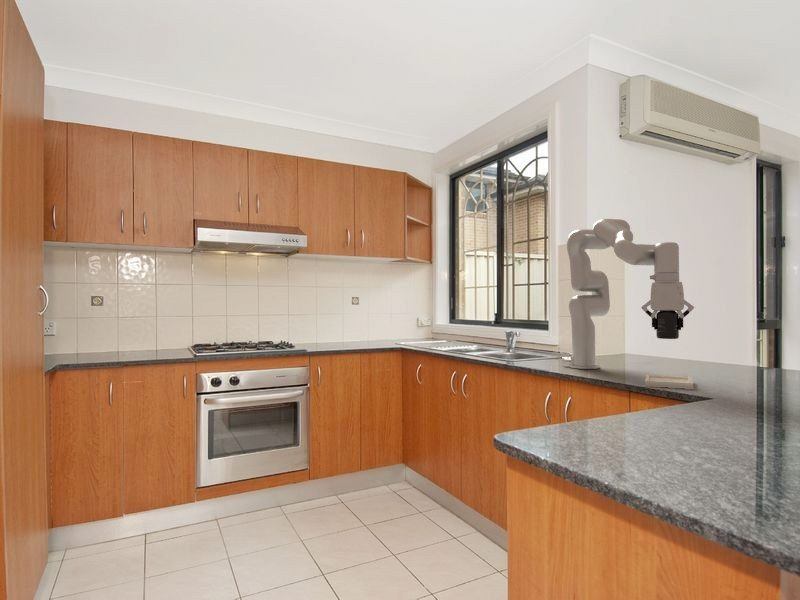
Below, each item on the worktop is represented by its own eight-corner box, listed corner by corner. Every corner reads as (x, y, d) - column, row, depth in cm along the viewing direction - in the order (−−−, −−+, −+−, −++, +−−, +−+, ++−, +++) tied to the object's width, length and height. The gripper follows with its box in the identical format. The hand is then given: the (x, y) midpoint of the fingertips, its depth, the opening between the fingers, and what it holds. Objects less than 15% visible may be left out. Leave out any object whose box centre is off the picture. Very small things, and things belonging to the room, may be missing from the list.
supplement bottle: (682, 339, 160) (681, 304, 160) (660, 339, 162) (659, 304, 162) (674, 337, 167) (674, 303, 167) (653, 337, 168) (653, 303, 168)
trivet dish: (645, 386, 162) (645, 380, 162) (646, 380, 174) (646, 374, 174) (693, 389, 155) (693, 383, 155) (691, 382, 167) (691, 377, 167)
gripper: (638, 278, 165) (638, 329, 165) (696, 277, 157) (697, 330, 157) (639, 279, 172) (639, 328, 172) (695, 277, 163) (696, 329, 163)
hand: (667, 329), depth 164 cm, fingers closed on supplement bottle, 6 cm apart
